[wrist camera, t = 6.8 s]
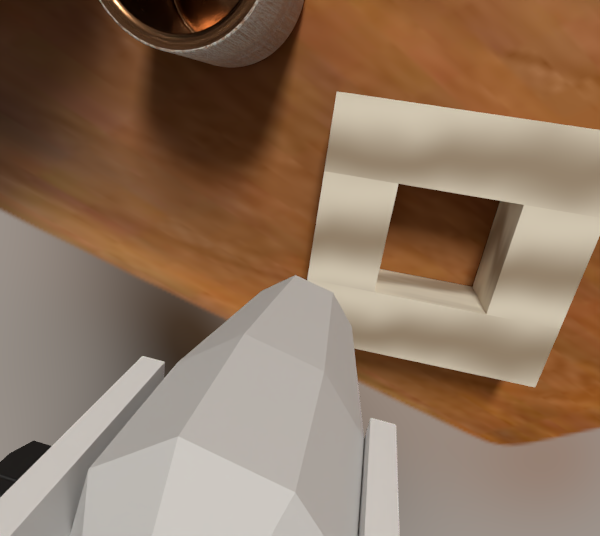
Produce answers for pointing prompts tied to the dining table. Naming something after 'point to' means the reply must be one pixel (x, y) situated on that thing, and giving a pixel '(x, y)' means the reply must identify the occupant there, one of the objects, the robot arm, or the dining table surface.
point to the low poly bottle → (242, 432)
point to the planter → (209, 27)
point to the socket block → (500, 245)
